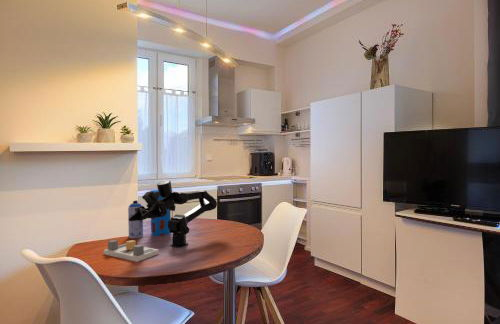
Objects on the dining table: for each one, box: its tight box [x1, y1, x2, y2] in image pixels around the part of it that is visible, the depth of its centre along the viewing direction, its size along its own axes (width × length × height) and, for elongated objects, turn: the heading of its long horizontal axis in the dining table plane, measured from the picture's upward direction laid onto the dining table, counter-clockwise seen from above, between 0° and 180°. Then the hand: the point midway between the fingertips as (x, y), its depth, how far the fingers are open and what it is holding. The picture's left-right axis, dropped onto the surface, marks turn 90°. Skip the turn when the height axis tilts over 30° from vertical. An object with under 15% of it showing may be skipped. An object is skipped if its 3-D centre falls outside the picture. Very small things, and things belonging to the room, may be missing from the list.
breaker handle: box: [125, 239, 137, 250], centre depth 141 cm, size 3×3×4 cm
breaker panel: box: [103, 239, 159, 263], centre depth 142 cm, size 12×22×6 cm, turn 60°
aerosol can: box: [127, 200, 144, 239], centre depth 173 cm, size 8×8×20 cm
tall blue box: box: [150, 189, 171, 237], centre depth 179 cm, size 11×11×25 cm
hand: (135, 218), depth 133 cm, fingers open, 9 cm apart
